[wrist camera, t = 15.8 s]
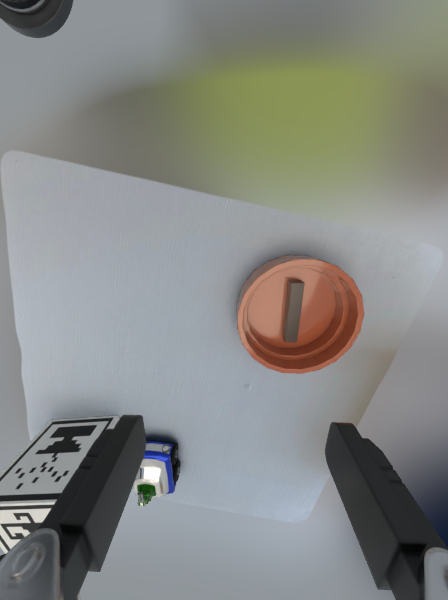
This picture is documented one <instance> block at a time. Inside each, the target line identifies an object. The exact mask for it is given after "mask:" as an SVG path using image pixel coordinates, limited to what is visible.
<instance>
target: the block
mask: <svg viewBox="0 0 448 600" xmlns="http://www.w3.org/2000/svg"><path fill="white" fill-rule="evenodd" d="M119 420H120V418H119V415H115V416H100V417H86V418H71V419H56V420H51V421H50V422H49V423H48V424H47V425H46V426H45V427H44V428H43V429H42V430H41V431H40V432H39V433H38V434H37V435H36V436H35V437H34V439H33V440H32V441H31V442H30V443H29V444H28V445H27V446H26V447H25V448H24V449H23V450H22V451H21V452H20V453H19V454H18V455H17V456H16V457H15V458H14V460H13V461H12V462H11V463H10V464H9V465H8V466H7V467H6V468H5V469H4V470H3V471H2V472H1V473H0V547H1V548H2V550H3V551H4V553H5V554H6V553H8V552H9V551H10V549H11V548H12V547H13V546H14V545H16V544H17V543H18V542H19V541H20V540H21V539H23V538H24V537H25V536H27V535H28V534H30V533H32V532H34V531H36V530H37V528H38V527H39V526H40V525H41V523H42V522H43V521H44V519H45V518H46V516H47V515H48V513H49V512H50V510H51V508H52V507H53V505H54V504H55V502H56V501H57V499H58V497H59V496H60V494H61V493H62V491H63V490H64V488H65V487H66V485H67V483H68V482H69V480H70V479H71V477H72V476H73V474H74V473H75V471H76V469H78V468H79V465H80V463H81V462H82V460H83V459H84V457H86V454H87V452H88V451H89V449H90V448H91V446H92V444H93V443H94V441H95V440H96V439H97V438H98V437H99V436H100V435H101V434H102V433H104V432H105V431H106V430H107V429H114V428H115V427H116V425H117V423H118V421H119Z"/></svg>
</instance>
